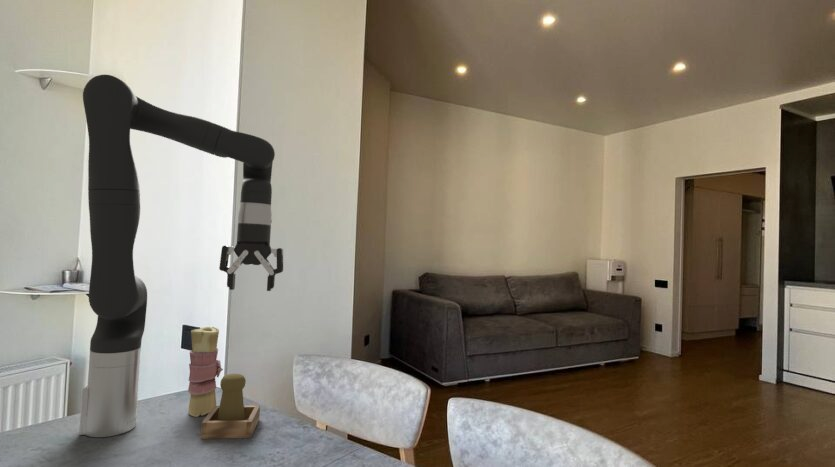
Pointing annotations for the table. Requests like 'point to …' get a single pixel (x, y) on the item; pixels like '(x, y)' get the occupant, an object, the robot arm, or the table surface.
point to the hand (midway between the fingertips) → (250, 290)
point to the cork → (232, 398)
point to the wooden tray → (230, 424)
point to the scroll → (203, 370)
